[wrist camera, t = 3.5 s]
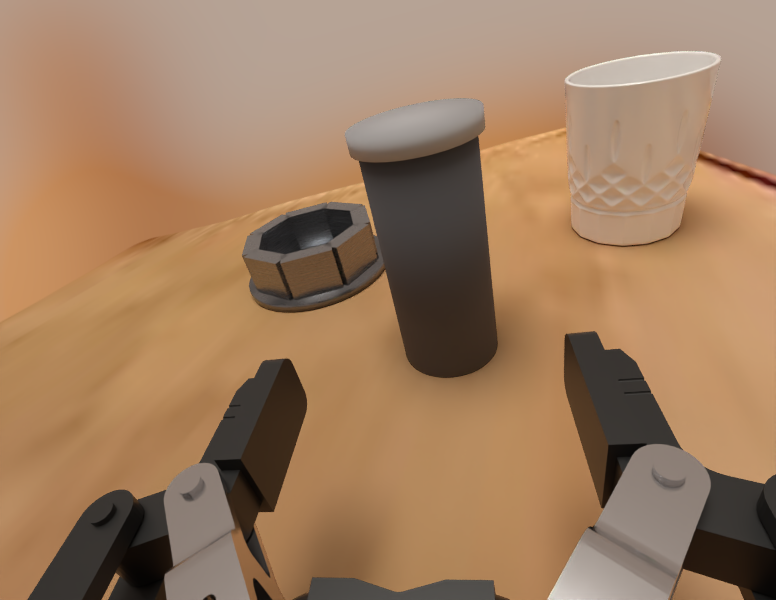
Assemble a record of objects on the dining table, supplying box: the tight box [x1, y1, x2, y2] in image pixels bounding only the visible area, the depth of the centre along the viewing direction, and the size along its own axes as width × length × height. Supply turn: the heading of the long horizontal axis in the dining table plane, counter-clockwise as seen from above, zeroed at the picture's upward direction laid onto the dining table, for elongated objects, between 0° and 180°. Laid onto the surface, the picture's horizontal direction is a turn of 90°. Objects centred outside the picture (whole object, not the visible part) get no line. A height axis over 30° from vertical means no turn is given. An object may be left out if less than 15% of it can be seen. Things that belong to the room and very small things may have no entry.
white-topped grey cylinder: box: [345, 98, 497, 377], centre depth 21 cm, size 6×6×12 cm
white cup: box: [565, 51, 721, 246], centre depth 28 cm, size 8×8×10 cm
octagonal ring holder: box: [242, 202, 385, 312], centre depth 34 cm, size 11×11×4 cm
